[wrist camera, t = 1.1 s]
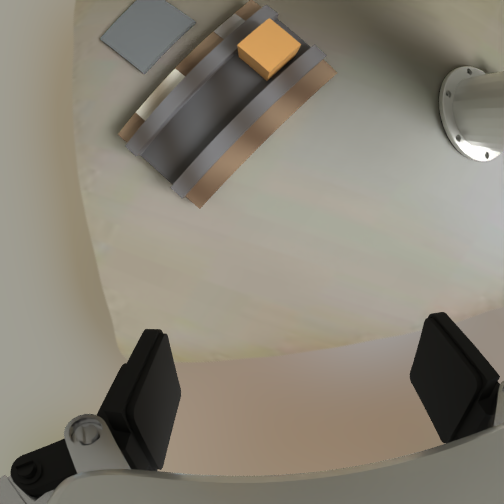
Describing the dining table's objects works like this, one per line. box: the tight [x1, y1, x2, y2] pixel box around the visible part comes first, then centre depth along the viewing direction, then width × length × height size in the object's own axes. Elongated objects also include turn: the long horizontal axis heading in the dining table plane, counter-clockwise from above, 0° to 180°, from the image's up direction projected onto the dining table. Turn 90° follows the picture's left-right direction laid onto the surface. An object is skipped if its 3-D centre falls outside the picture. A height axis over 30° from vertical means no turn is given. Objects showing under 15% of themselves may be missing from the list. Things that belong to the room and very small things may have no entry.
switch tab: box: [237, 18, 301, 81], centre depth 24 cm, size 4×4×4 cm
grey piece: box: [118, 0, 337, 209], centre depth 28 cm, size 20×12×4 cm, turn 136°
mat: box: [100, 0, 196, 74], centre depth 26 cm, size 8×8×1 cm
